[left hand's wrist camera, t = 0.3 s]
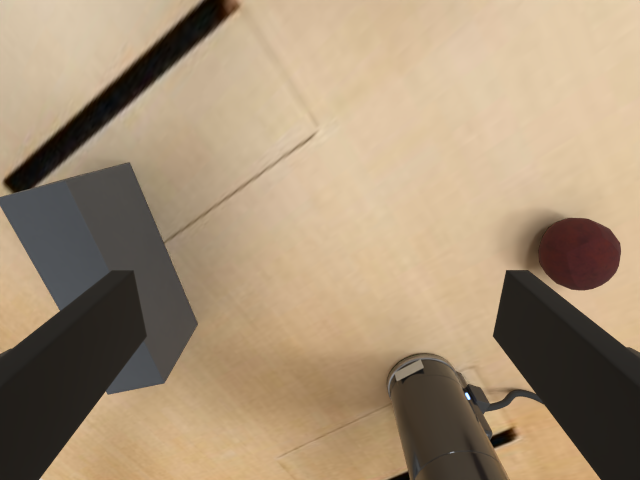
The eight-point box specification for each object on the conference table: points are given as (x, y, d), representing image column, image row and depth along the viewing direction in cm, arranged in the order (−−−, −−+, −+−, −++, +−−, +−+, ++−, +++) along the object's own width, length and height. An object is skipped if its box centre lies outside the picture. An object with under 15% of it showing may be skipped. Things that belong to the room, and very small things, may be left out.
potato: (538, 281, 43) (578, 313, 37) (514, 230, 41) (552, 254, 34) (598, 251, 42) (651, 278, 35) (577, 197, 40) (629, 215, 33)
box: (77, 175, 39) (-5, 198, 29) (129, 162, 38) (64, 180, 29) (152, 333, 46) (107, 395, 36) (198, 324, 45) (164, 383, 36)
